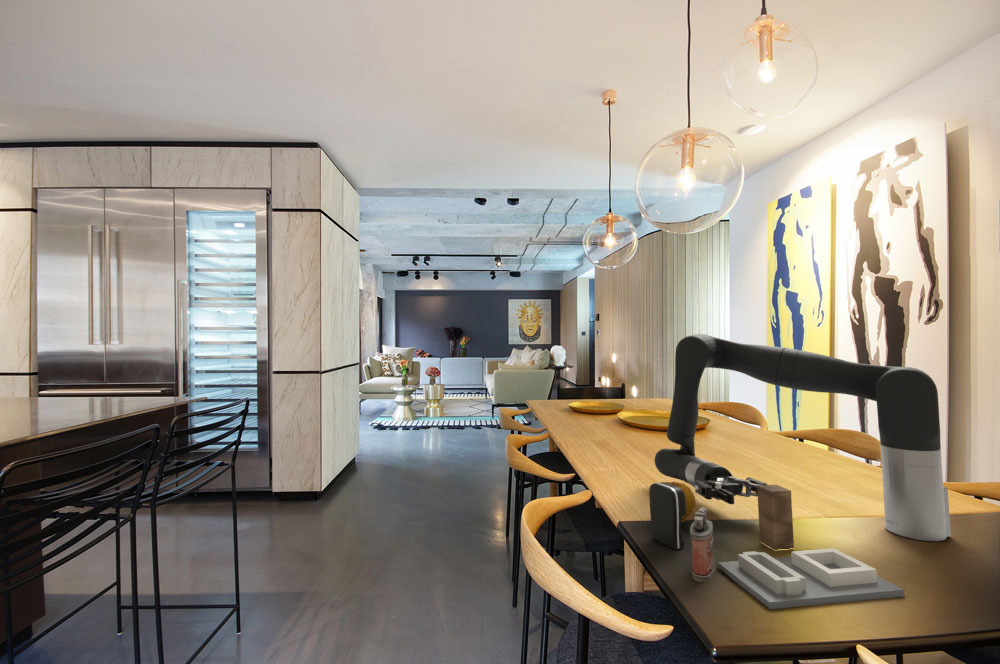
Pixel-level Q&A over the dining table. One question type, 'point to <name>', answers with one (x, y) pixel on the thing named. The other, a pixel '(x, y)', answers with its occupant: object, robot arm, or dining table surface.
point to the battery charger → (667, 513)
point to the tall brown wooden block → (775, 516)
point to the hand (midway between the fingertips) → (752, 498)
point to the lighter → (702, 547)
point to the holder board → (807, 578)
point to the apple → (688, 497)
